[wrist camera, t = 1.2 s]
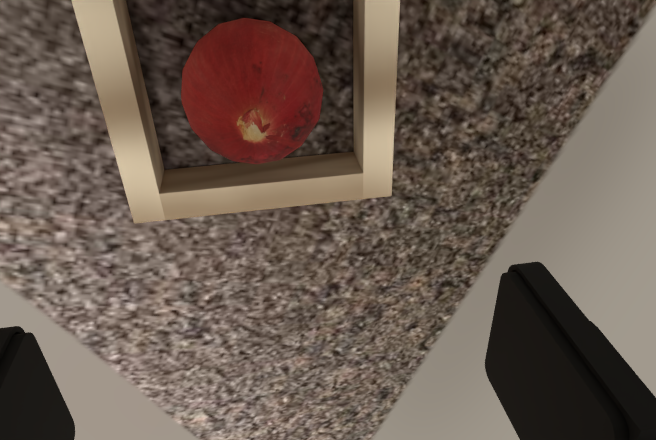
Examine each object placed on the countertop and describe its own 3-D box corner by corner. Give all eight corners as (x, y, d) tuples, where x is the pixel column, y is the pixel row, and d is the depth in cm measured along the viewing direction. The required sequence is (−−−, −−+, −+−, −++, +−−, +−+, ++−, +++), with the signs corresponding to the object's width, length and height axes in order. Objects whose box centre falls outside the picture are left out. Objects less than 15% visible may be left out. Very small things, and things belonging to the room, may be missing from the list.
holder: (66, -85, 21) (49, -80, 19) (387, -98, 22) (403, -95, 20) (141, 197, 28) (134, 223, 26) (380, 173, 29) (391, 195, 27)
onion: (333, 45, 25) (370, 106, 19) (273, 142, 27) (287, 227, 21) (222, -25, 23) (219, 17, 16) (167, 88, 25) (144, 165, 18)
